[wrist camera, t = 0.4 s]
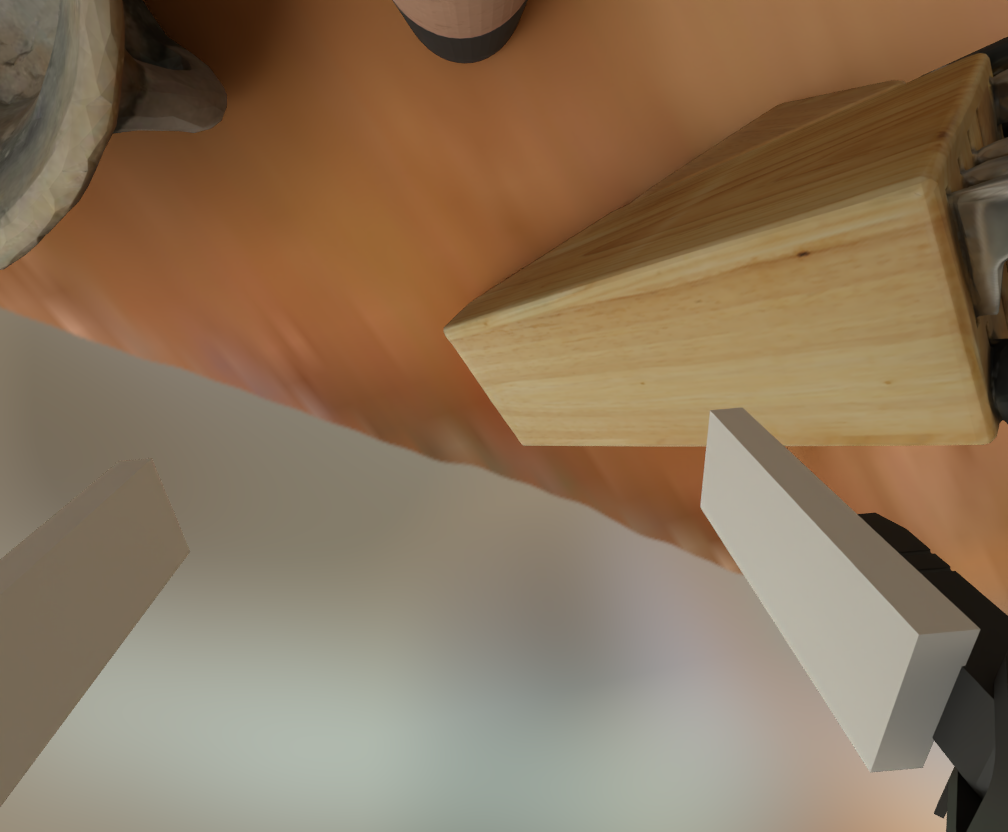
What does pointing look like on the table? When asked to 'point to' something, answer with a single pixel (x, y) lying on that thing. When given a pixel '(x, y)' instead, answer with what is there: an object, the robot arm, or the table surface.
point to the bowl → (83, 102)
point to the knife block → (780, 284)
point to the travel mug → (462, 25)
